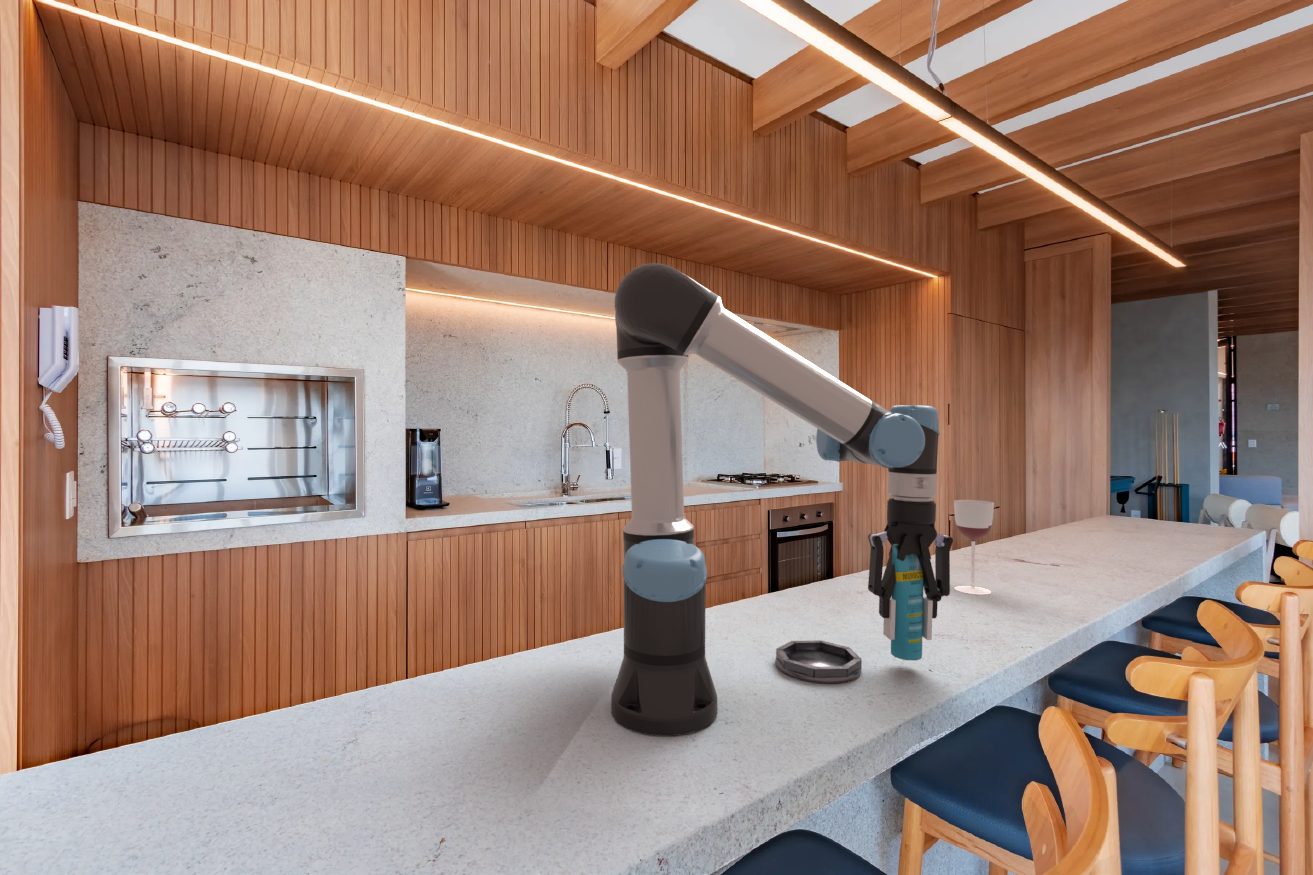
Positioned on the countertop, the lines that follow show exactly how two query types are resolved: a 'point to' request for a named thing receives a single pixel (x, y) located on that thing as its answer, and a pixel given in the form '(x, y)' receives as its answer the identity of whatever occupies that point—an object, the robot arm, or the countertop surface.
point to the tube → (908, 607)
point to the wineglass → (973, 532)
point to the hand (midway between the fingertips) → (907, 636)
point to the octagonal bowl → (818, 662)
